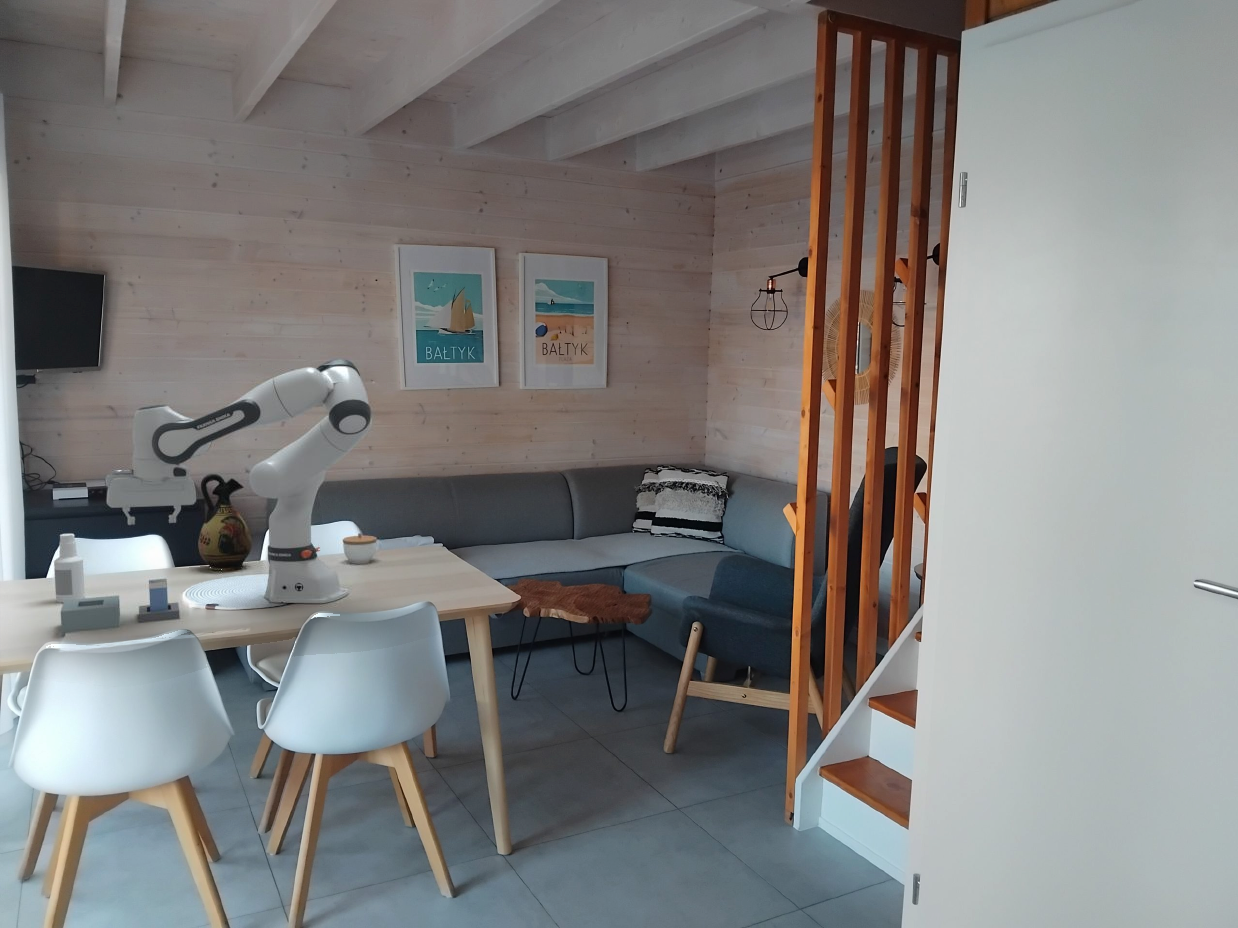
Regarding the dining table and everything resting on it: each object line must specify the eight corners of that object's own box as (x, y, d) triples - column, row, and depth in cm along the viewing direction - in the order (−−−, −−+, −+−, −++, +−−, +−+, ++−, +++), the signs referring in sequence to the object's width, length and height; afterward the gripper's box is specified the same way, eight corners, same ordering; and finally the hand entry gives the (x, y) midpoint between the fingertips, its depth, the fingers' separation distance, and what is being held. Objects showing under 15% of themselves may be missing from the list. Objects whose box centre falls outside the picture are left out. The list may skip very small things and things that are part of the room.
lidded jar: (345, 558, 317) (344, 531, 316) (378, 558, 319) (377, 530, 318) (341, 565, 307) (341, 536, 306) (376, 564, 309) (375, 535, 308)
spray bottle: (58, 598, 262) (55, 533, 260) (86, 596, 264) (83, 531, 262) (53, 603, 255) (50, 537, 253) (82, 601, 258) (79, 536, 256)
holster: (178, 613, 246) (178, 602, 246) (179, 622, 238) (179, 610, 238) (139, 617, 242) (139, 605, 242) (139, 626, 234) (138, 614, 234)
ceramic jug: (248, 561, 312) (245, 470, 309) (255, 570, 298) (252, 475, 295) (191, 566, 304) (188, 472, 301) (195, 575, 290) (192, 477, 287)
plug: (168, 613, 243) (166, 578, 242) (168, 617, 239) (167, 581, 239) (150, 614, 241) (148, 579, 240) (150, 618, 238) (148, 583, 237)
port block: (120, 618, 241) (119, 595, 241) (119, 630, 231) (118, 606, 230) (65, 623, 236) (64, 600, 235) (61, 636, 225) (60, 611, 225)
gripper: (106, 471, 232) (107, 527, 234) (197, 470, 243) (197, 523, 245) (104, 468, 237) (104, 523, 239) (193, 466, 248) (192, 519, 250)
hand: (152, 523), depth 242 cm, fingers open, 8 cm apart
